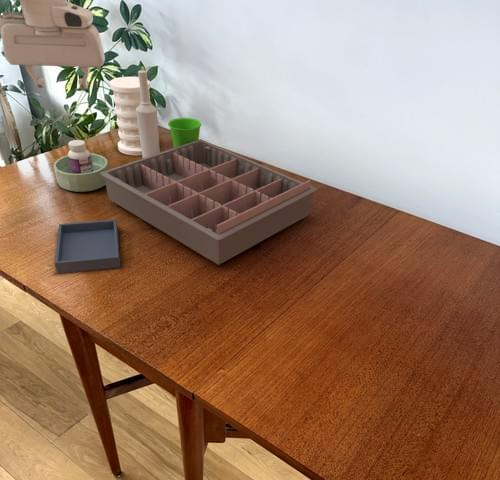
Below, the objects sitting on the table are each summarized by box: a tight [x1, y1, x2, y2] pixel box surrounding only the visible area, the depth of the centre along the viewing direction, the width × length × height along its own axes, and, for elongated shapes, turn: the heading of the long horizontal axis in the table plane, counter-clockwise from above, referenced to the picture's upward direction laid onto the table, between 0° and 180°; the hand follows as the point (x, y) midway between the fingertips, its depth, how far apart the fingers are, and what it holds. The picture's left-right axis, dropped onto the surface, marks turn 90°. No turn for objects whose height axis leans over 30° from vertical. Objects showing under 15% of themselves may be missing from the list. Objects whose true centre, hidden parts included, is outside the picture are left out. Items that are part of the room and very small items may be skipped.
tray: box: [54, 219, 121, 274], centre depth 98 cm, size 12×15×2 cm
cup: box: [167, 117, 202, 148], centre depth 129 cm, size 9×9×11 cm
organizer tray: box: [100, 138, 318, 266], centre depth 109 cm, size 32×40×10 cm
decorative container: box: [109, 76, 151, 156], centre depth 133 cm, size 12×12×18 cm
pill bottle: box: [67, 139, 93, 174], centre depth 118 cm, size 5×5×10 cm
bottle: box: [136, 69, 161, 159], centre depth 119 cm, size 5×5×25 cm
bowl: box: [53, 152, 110, 193], centre depth 120 cm, size 13×13×5 cm
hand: (62, 87), depth 103 cm, fingers open, 8 cm apart
